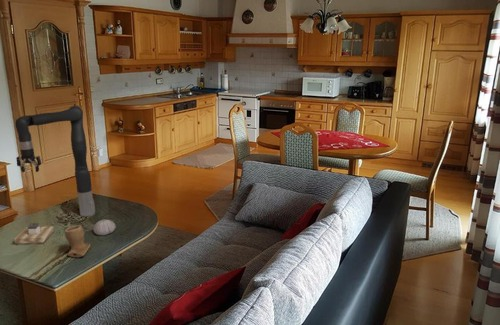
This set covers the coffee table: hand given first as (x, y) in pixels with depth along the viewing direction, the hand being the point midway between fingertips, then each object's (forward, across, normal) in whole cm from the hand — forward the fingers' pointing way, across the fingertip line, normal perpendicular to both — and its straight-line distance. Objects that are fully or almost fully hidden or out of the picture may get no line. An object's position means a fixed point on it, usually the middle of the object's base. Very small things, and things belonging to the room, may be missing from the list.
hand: (30, 171), depth 265 cm
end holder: (+34, -10, +28) cm, 45 cm away
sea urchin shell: (+34, -50, +22) cm, 65 cm away
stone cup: (+34, -42, +48) cm, 72 cm away
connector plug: (+33, -10, +28) cm, 45 cm away
